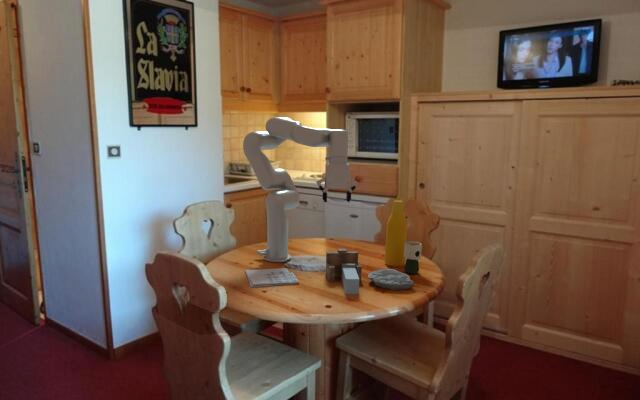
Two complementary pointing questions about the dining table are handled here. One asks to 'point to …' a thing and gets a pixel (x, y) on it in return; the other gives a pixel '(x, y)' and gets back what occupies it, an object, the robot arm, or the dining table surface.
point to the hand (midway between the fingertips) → (336, 201)
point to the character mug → (412, 256)
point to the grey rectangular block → (350, 279)
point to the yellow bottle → (396, 236)
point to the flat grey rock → (391, 279)
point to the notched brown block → (339, 258)
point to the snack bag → (270, 277)
